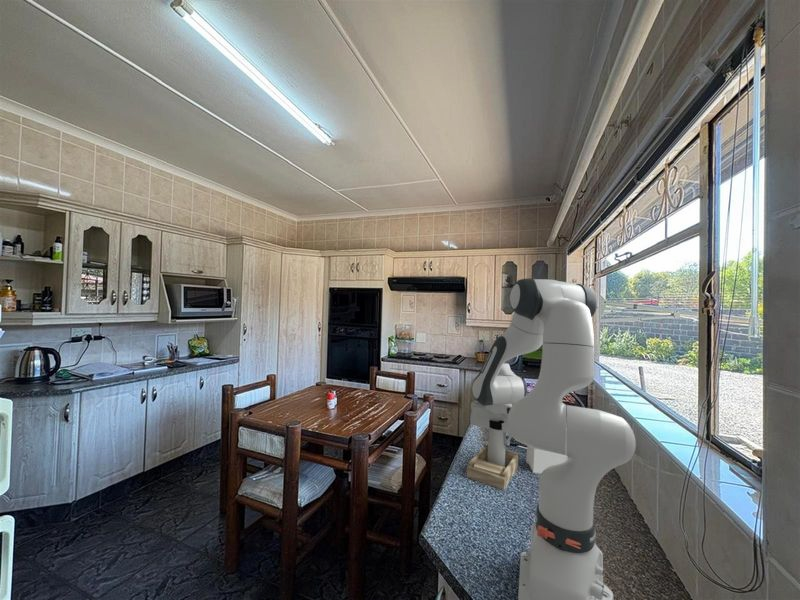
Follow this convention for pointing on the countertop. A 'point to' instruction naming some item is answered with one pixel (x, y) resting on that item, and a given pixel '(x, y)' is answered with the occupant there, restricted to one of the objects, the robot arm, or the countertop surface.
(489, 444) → the travel mug
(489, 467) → the offcut top
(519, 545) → the countertop surface
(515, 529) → the countertop surface
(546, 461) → the milk
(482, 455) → the birch rack
